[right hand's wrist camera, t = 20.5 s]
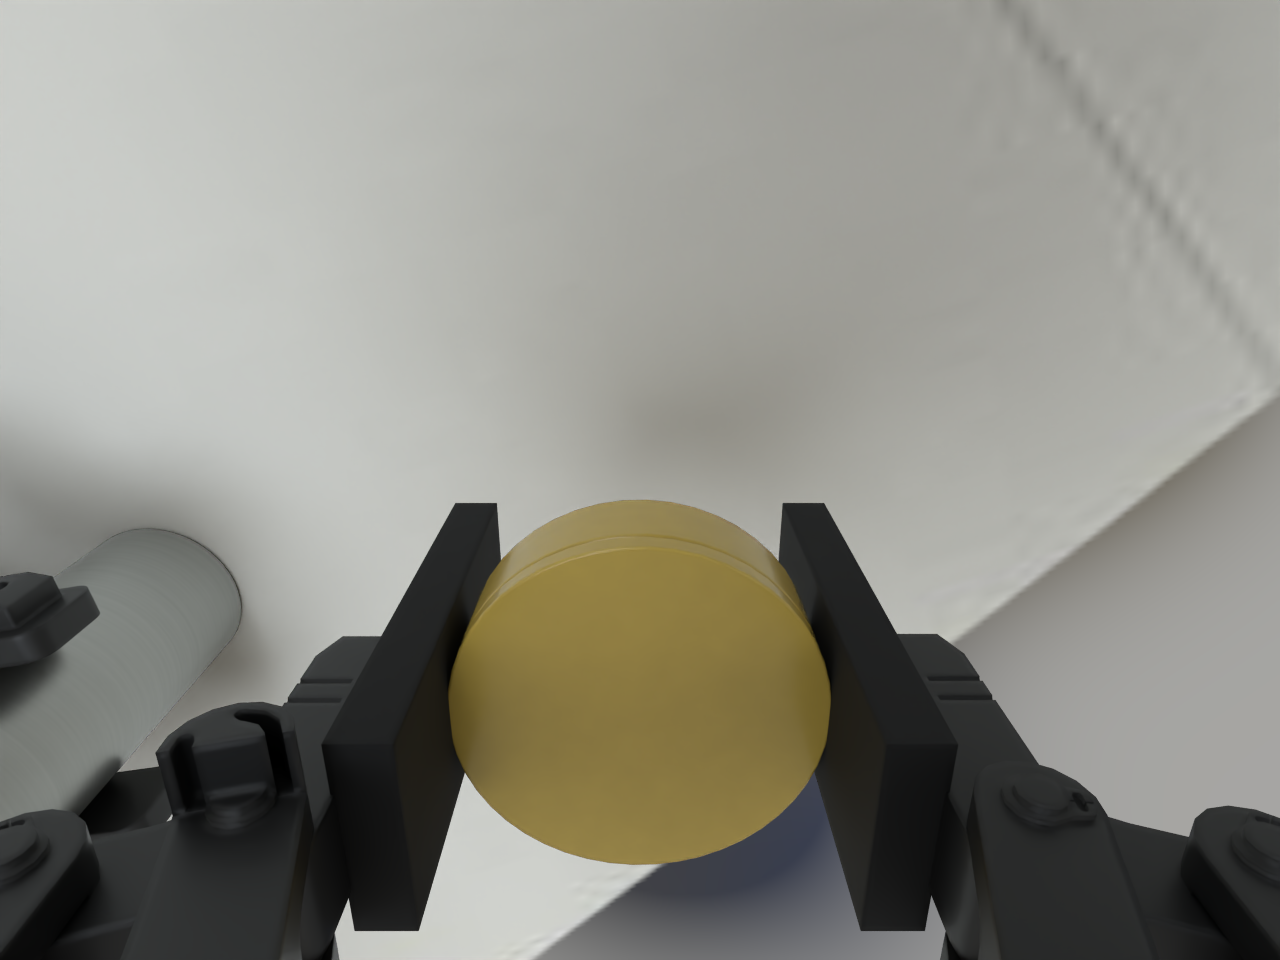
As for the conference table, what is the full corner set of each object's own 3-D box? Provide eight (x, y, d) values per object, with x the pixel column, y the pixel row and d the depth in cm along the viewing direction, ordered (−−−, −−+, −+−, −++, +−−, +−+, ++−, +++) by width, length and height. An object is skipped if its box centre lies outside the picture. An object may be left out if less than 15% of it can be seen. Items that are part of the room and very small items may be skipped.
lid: (828, 504, 11) (858, 554, 10) (789, 792, 13) (808, 871, 12) (463, 491, 11) (436, 540, 10) (476, 782, 13) (455, 861, 12)
